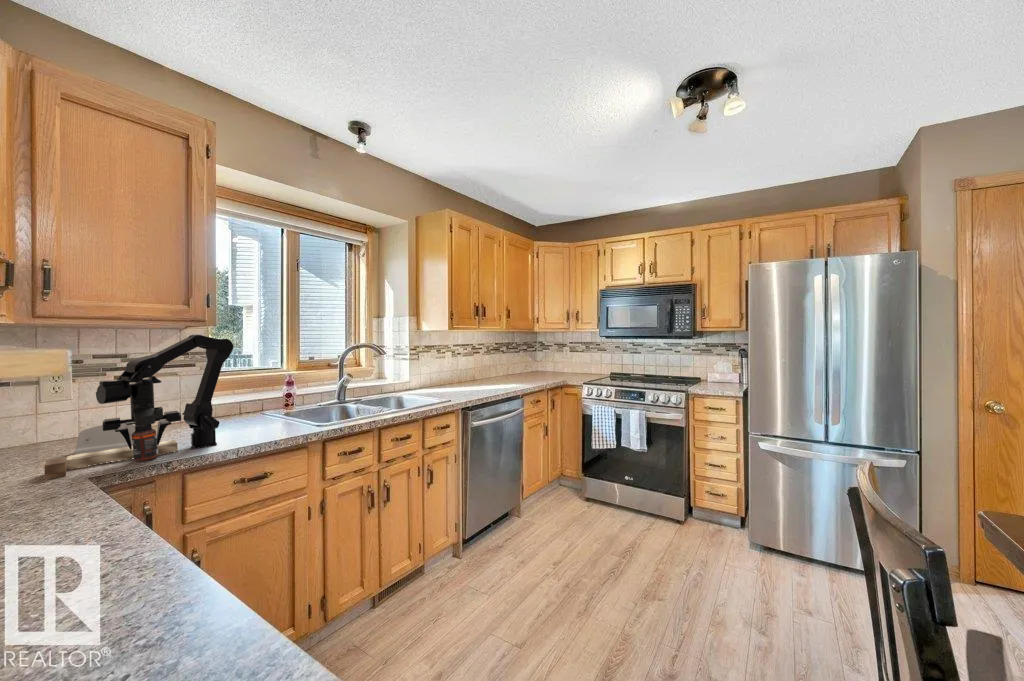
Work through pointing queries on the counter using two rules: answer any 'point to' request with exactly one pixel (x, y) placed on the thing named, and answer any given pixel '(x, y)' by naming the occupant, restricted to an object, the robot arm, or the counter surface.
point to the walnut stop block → (55, 468)
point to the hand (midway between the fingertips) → (144, 446)
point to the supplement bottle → (144, 443)
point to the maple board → (113, 455)
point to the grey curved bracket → (101, 439)
